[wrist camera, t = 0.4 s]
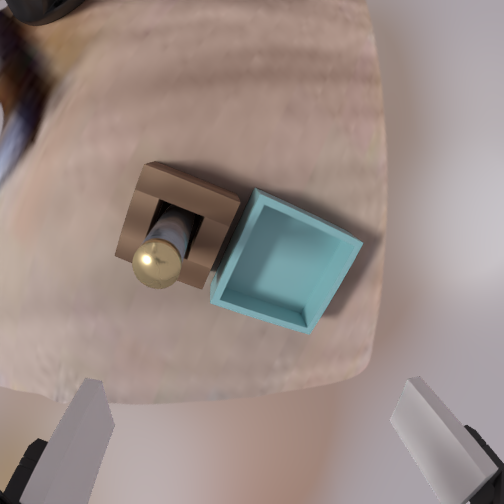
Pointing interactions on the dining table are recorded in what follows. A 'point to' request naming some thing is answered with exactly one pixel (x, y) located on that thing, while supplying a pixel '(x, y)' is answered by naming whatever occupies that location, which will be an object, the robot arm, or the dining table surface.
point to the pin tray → (282, 264)
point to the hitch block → (185, 196)
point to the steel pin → (164, 249)
